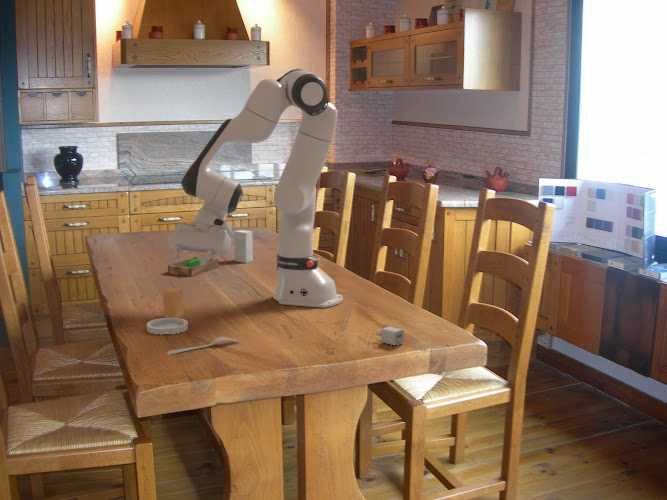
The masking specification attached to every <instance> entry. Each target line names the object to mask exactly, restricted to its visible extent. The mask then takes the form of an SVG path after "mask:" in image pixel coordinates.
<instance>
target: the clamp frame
mask: <svg viewBox="0 0 667 500" xmlns="http://www.w3.org/2000/svg"><path fill="white" fill-rule="evenodd" d="M201 257H202V256H194V257H191V258H186V259H184V260H180V261H176V262H173V263H171V264H168V265H167V272H168V274H170V275H175V276H184V277H194V276H197V275H200V274H202V273H206V272H209V271H212V270H215V269H217V268H219V259H218V258H215V257H213V258H211V259H210V261H208V262H207V263H206V265H201V264H199V265H196V266H193V267H187V260H195V259H196V258H201Z"/></svg>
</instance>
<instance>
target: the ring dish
mask: <svg viewBox="0 0 667 500" xmlns="http://www.w3.org/2000/svg"><path fill="white" fill-rule="evenodd" d="M188 328H189V322H188V320H186V319H184V318H182V317H179V318H166V317H161V318H154V319H152V320H149V321H147V323H146V331H147V332H148V333H150V334H152V333H153V334H152V335H158V334H160V336H163V335H164V334H170V335H171V334H172V335H177V334H181V333H180V332H182V333H184V332H186V331H188ZM176 333H177V334H176ZM162 334H163V335H162ZM164 336H165V335H164Z"/></svg>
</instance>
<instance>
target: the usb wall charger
mask: <svg viewBox="0 0 667 500" xmlns="http://www.w3.org/2000/svg"><path fill="white" fill-rule="evenodd" d="M404 331H405V330H404V329H401V328H397V327H393V326H387V327H383V328H382V329H381V330H380V332H375V335H377V336H379V337H381V340H380V341H381V342H380V343H382V344H384V343H386V344H385V345H388V344H390V345H389V346H392V345H394V346H393V347H396V346H395V345H398V344H401V343H403V344H404V340H405V339H404V336H405V334H404V333H405V332H404ZM401 345H402V344H401ZM398 346H399V345H398Z"/></svg>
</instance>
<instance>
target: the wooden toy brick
mask: <svg viewBox="0 0 667 500" xmlns="http://www.w3.org/2000/svg"><path fill="white" fill-rule="evenodd" d="M162 292H163V293H162V295H163V300H162V301H163V318H182V317H183V316H184V290H183V288H178V287H177V288H176V287H170V288H167V289H165V290H164V289H163V291H162Z"/></svg>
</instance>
